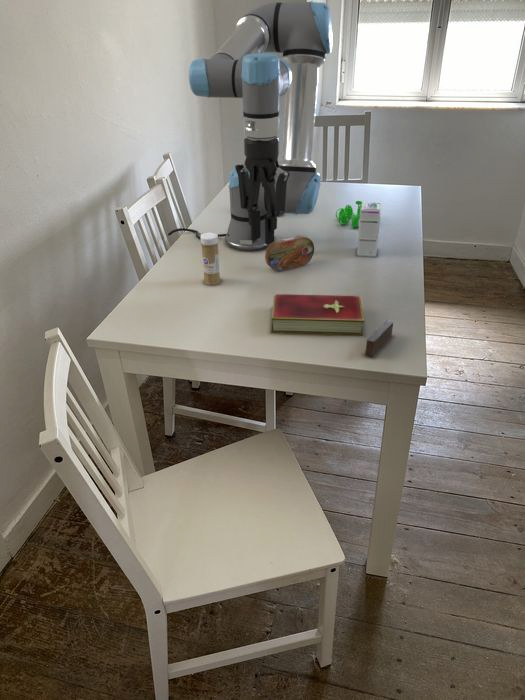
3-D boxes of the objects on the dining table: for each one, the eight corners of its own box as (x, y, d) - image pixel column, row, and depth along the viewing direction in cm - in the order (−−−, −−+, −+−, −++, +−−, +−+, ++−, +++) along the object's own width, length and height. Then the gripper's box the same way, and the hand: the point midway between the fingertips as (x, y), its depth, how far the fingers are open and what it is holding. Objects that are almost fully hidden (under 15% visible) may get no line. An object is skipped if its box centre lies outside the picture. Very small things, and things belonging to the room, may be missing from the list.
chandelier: (376, 232, 172) (378, 211, 168) (330, 227, 176) (332, 207, 172) (382, 216, 184) (384, 197, 180) (339, 212, 188) (341, 193, 184)
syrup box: (376, 257, 156) (381, 209, 148) (356, 255, 157) (360, 208, 149) (376, 249, 161) (382, 202, 153) (357, 248, 162) (361, 201, 154)
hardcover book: (274, 307, 133) (274, 292, 130) (358, 309, 131) (360, 294, 129) (271, 332, 123) (271, 317, 120) (362, 335, 121) (364, 319, 119)
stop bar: (365, 355, 115) (366, 340, 112) (384, 334, 121) (387, 320, 119) (371, 357, 114) (373, 342, 112) (391, 337, 121) (393, 322, 118)
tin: (268, 274, 148) (268, 245, 143) (263, 269, 150) (263, 241, 146) (314, 262, 154) (315, 235, 149) (308, 258, 156) (309, 231, 151)
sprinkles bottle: (201, 284, 144) (197, 237, 136) (208, 276, 147) (205, 230, 139) (216, 286, 142) (213, 239, 135) (223, 279, 146) (220, 233, 138)
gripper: (220, 135, 114) (226, 238, 127) (283, 145, 106) (282, 254, 119) (241, 129, 119) (245, 228, 132) (303, 138, 111) (300, 243, 124)
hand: (262, 240), depth 126 cm, fingers open, 3 cm apart
